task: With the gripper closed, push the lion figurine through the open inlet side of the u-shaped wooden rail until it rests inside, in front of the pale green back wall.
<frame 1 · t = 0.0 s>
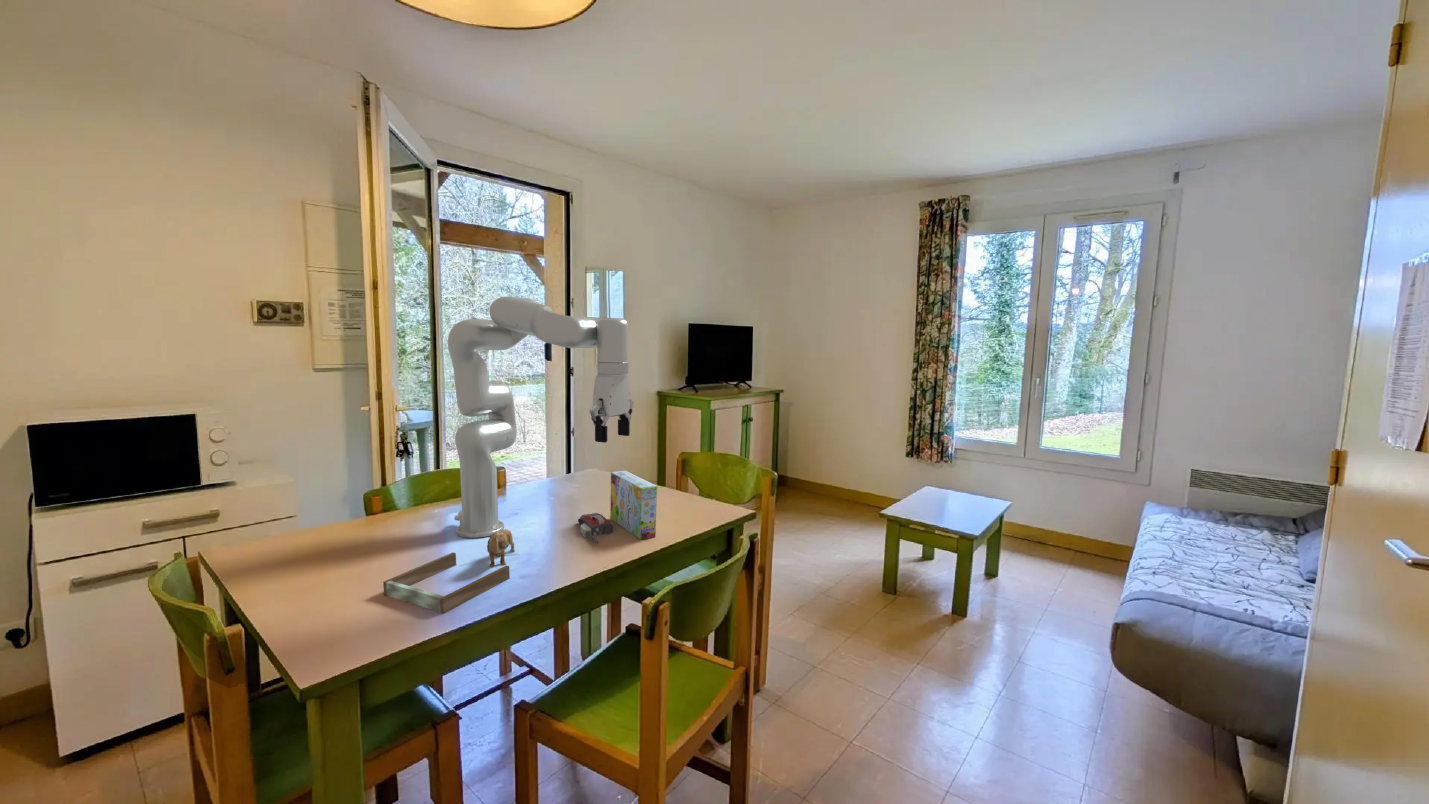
hand: (612, 438, 137), 31 cm above the table, fingers open, 9 cm apart
lion figurine: (502, 561, 139), on the table
u-shaped wooden rail: (449, 586, 124), on the table
snack box: (632, 528, 164), on the table
walkie-talkie: (596, 534, 160), on the table
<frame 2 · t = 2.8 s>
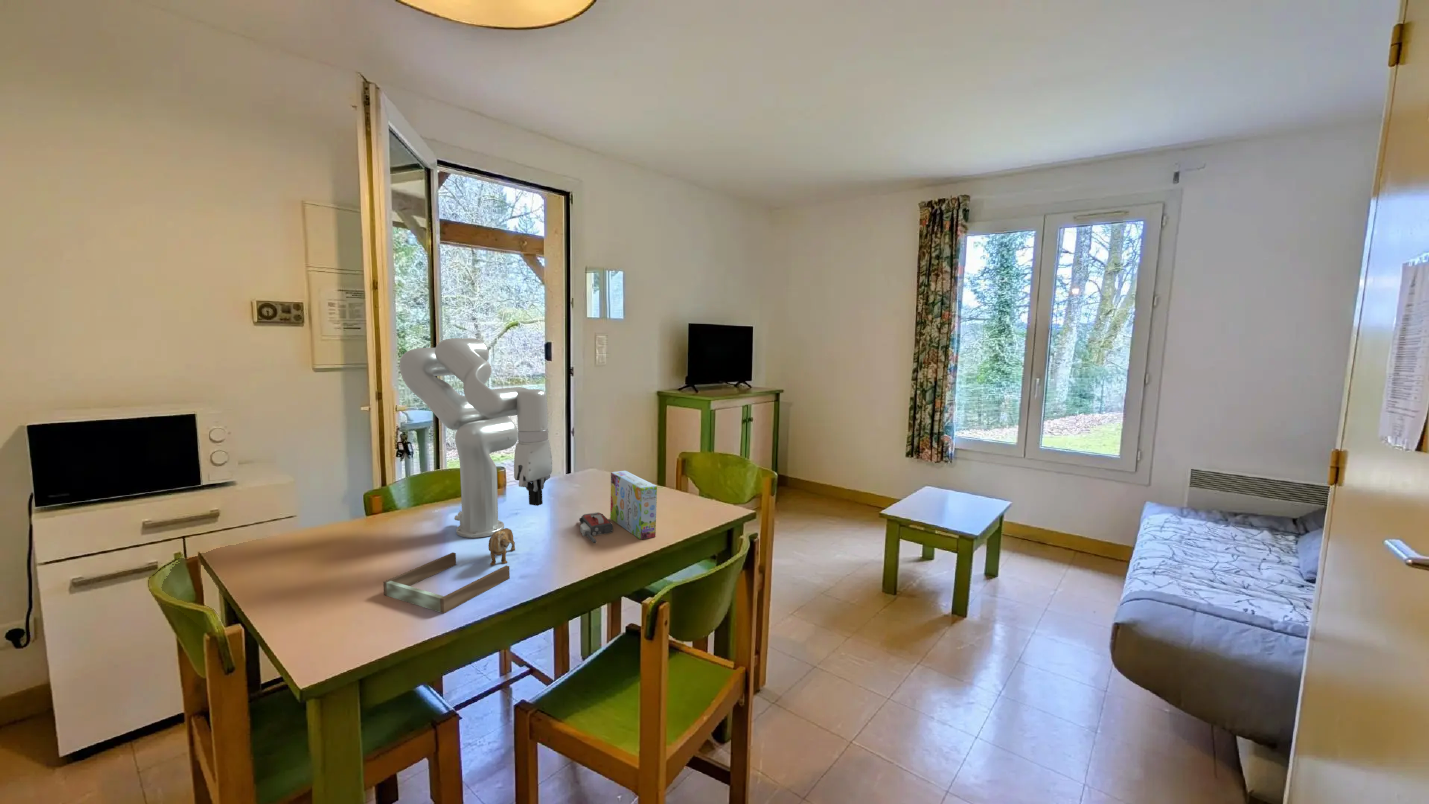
hand: (535, 504, 147), 11 cm above the table, fingers closed
nothing on the table moved.
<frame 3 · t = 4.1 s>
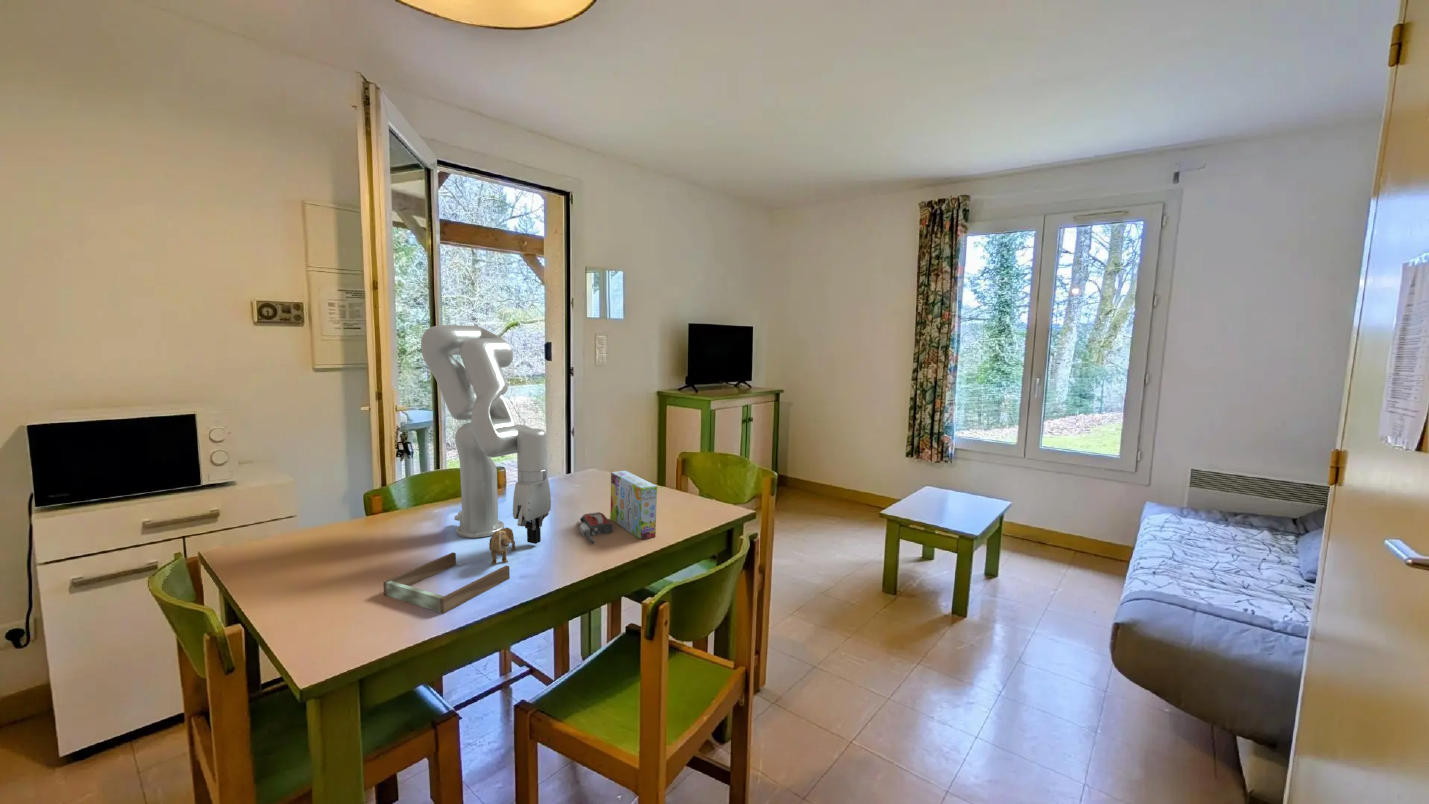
hand: (533, 541, 149), 1 cm above the table, fingers closed
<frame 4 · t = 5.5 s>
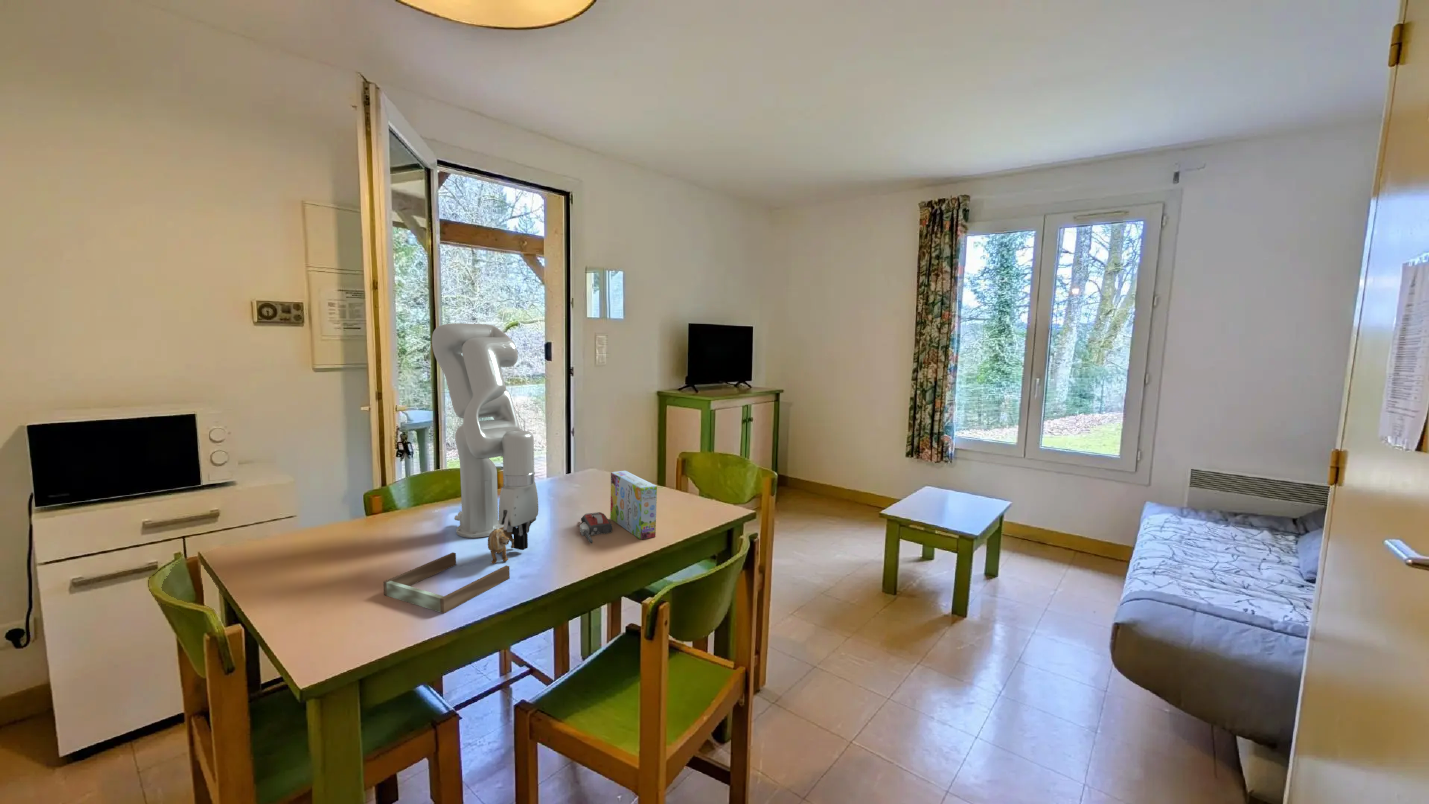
hand: (520, 548, 144), 1 cm above the table, fingers closed
lion figurine: (504, 557, 140), on the table, touching gripper
everything else where it was.
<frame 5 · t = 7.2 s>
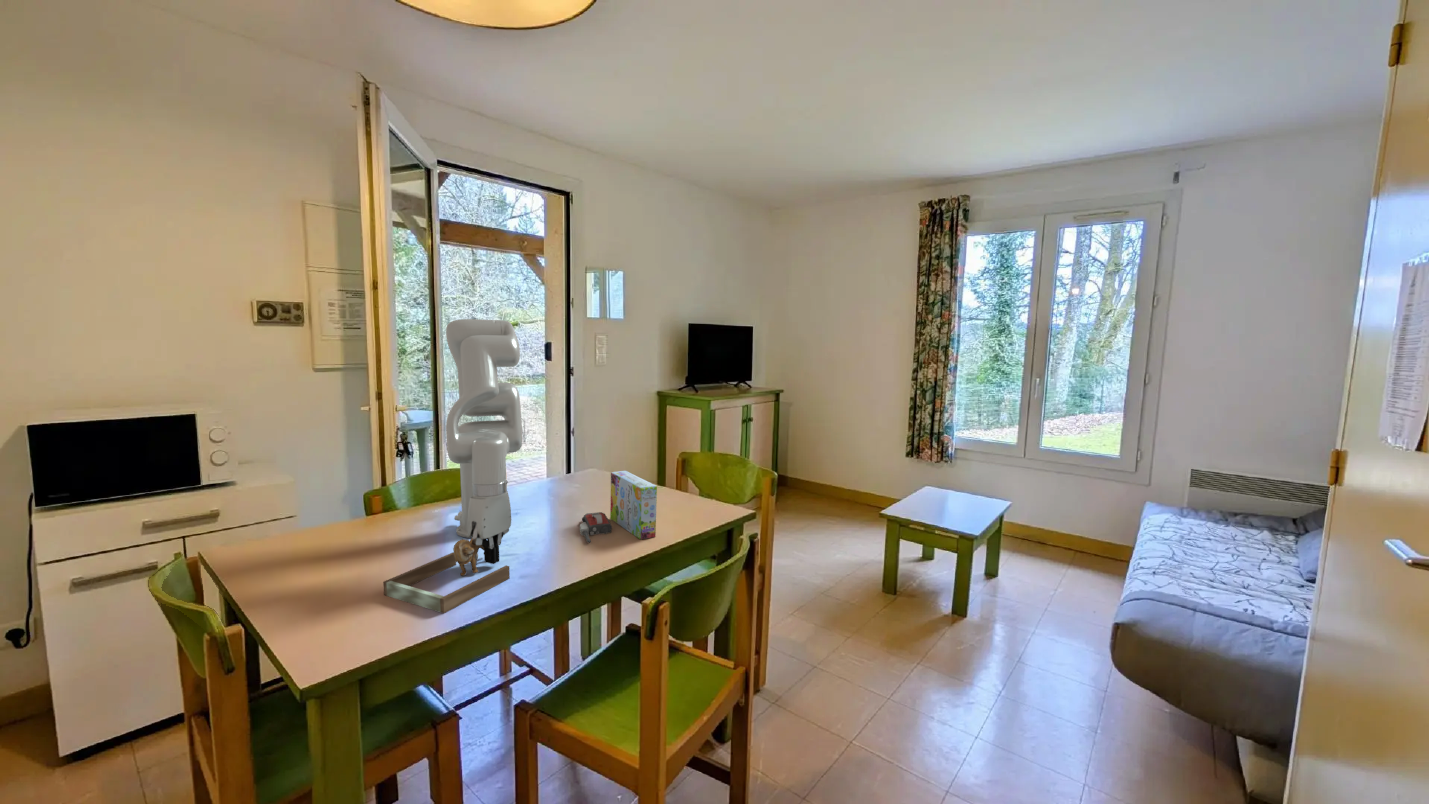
hand: (491, 561, 135), 1 cm above the table, fingers closed
lion figurine: (476, 569, 133), on the table, touching gripper
everything else where it was.
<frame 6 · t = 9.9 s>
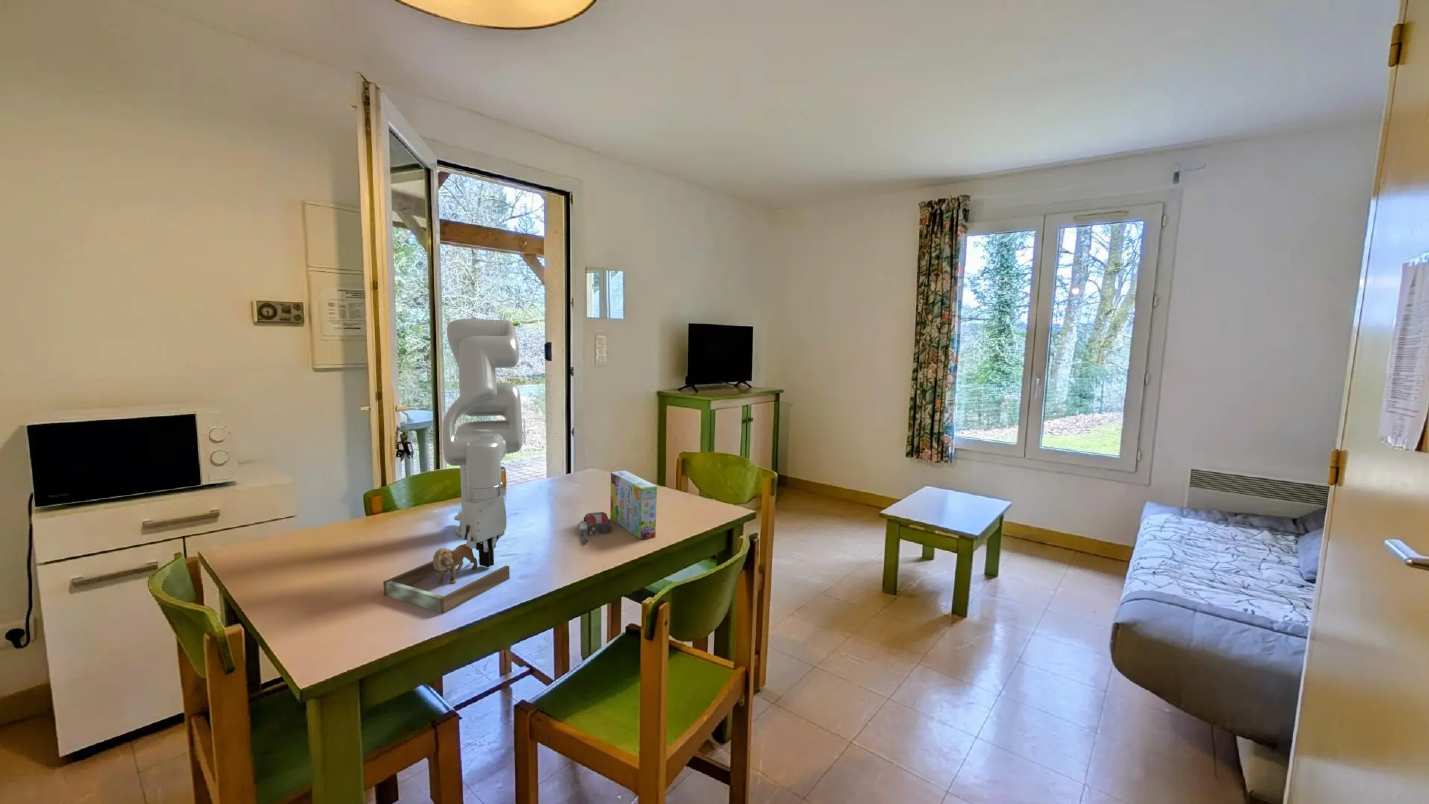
hand: (486, 564, 134), 1 cm above the table, fingers closed
lion figurine: (456, 578, 129), on the table
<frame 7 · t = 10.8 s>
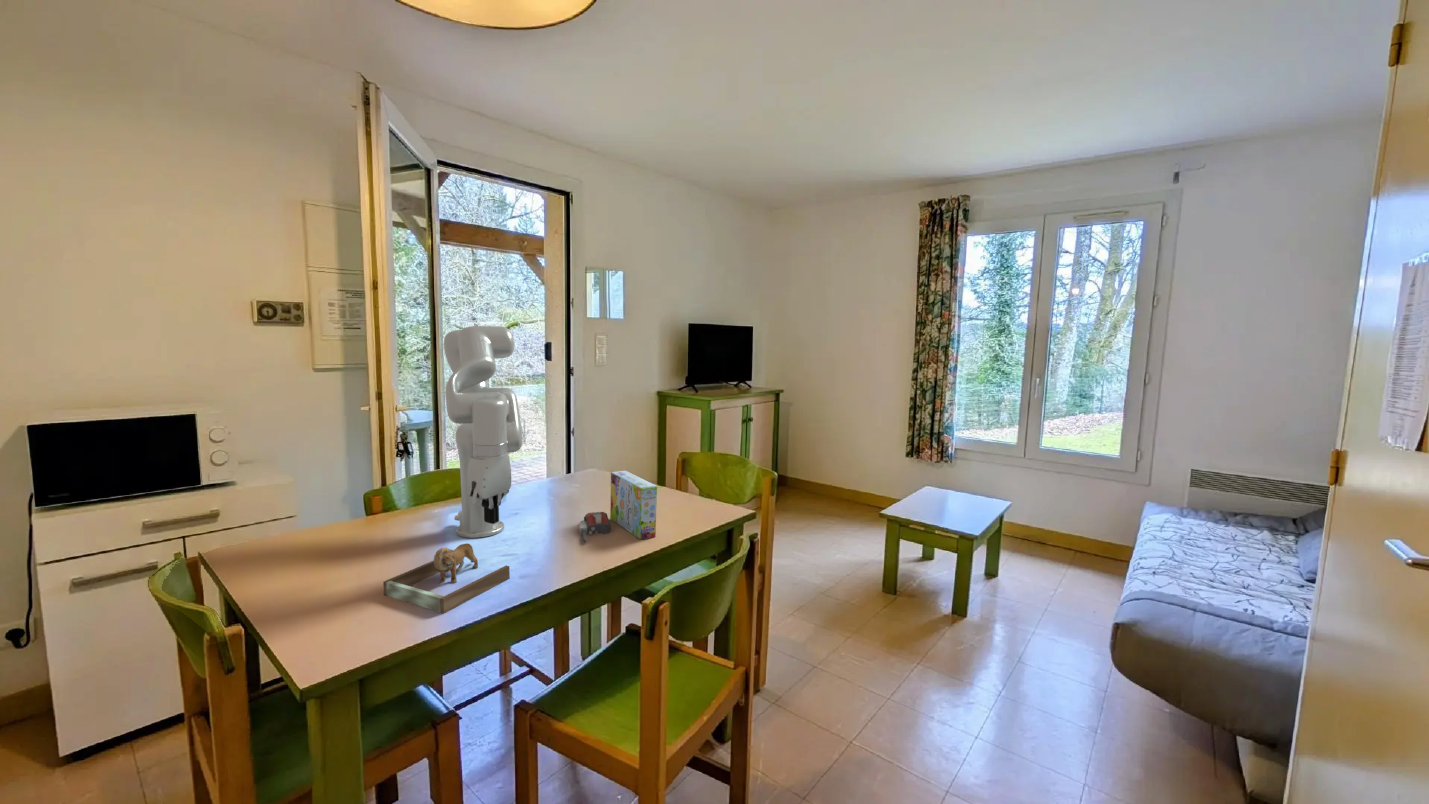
hand: (491, 521, 136), 11 cm above the table, fingers closed
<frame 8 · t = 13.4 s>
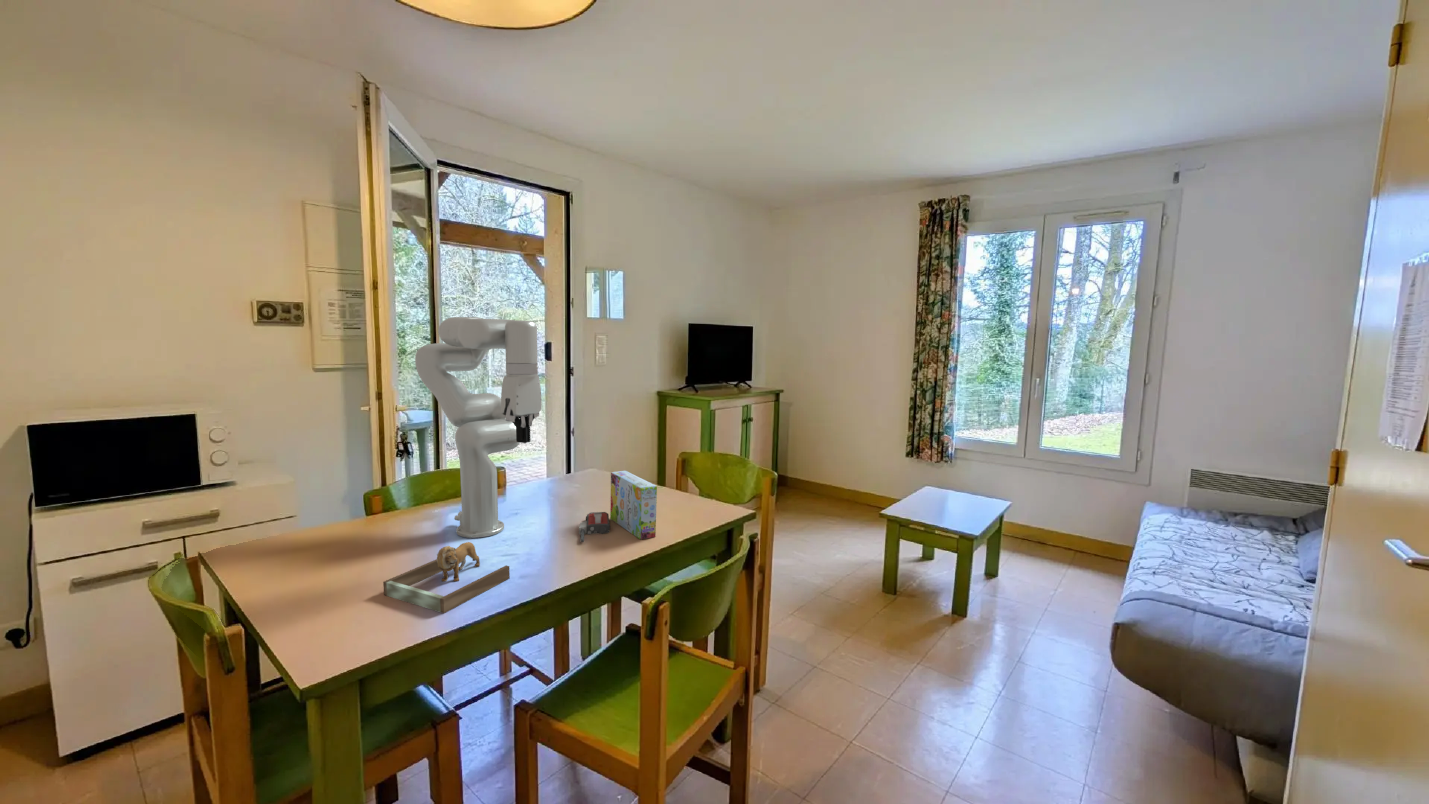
hand: (523, 441, 141), 29 cm above the table, fingers closed
at the end: lion figurine inside the target area on the u-shaped wooden rail (6.1 cm from its centre), point 0.0 cm above the u-shaped wooden rail's base; the gripper is holding nothing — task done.
